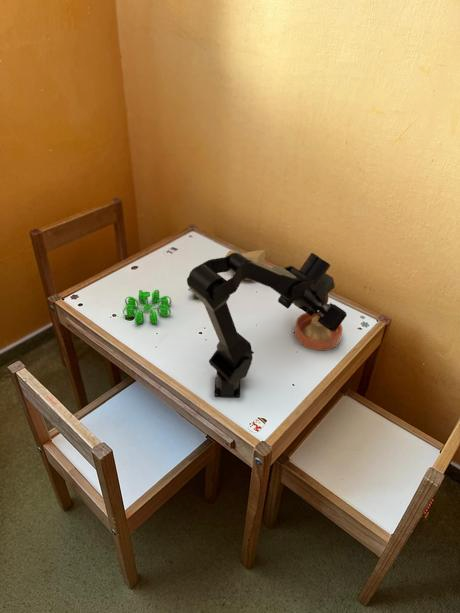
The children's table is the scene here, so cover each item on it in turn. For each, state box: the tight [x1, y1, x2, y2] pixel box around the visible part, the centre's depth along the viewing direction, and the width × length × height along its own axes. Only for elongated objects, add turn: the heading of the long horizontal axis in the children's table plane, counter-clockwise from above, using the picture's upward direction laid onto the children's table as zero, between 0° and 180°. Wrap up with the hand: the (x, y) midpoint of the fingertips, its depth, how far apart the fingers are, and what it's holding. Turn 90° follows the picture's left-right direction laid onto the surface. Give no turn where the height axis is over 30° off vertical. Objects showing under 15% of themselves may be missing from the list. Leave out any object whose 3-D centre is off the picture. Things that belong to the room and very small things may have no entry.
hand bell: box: [303, 293, 332, 340], centre depth 132 cm, size 8×8×16 cm
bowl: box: [294, 312, 343, 351], centre depth 136 cm, size 13×13×4 cm
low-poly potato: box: [225, 249, 266, 281], centre depth 156 cm, size 15×11×12 cm
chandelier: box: [122, 289, 172, 325], centre depth 141 cm, size 15×15×7 cm
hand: (324, 312), depth 133 cm, fingers open, 5 cm apart
